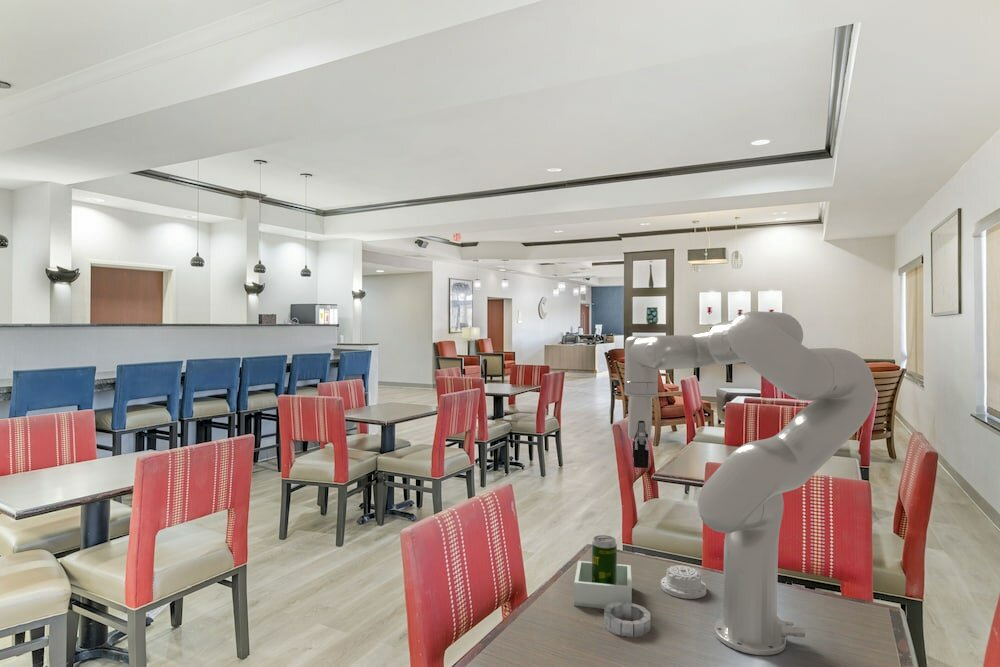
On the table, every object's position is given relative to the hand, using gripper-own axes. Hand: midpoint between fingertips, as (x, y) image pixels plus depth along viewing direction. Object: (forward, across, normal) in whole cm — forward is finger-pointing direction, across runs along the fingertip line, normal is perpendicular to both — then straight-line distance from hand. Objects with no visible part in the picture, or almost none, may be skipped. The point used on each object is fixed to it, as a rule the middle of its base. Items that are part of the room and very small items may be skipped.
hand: (640, 462), depth 136 cm
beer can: (+28, +8, -8) cm, 30 cm away
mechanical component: (+29, 0, +10) cm, 30 cm away
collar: (+28, +20, -3) cm, 35 cm away
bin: (+28, +8, -8) cm, 30 cm away
